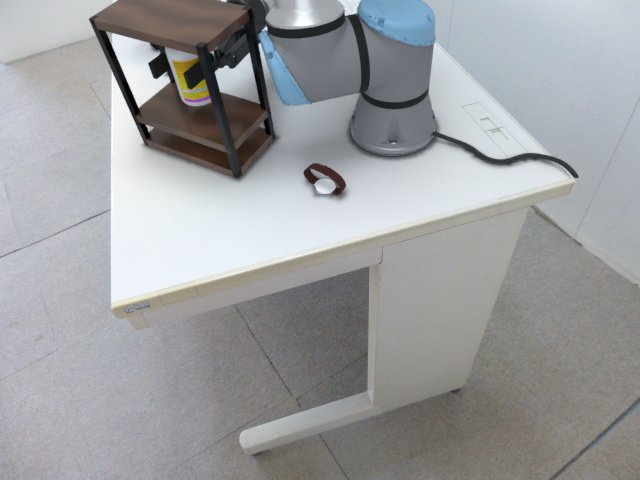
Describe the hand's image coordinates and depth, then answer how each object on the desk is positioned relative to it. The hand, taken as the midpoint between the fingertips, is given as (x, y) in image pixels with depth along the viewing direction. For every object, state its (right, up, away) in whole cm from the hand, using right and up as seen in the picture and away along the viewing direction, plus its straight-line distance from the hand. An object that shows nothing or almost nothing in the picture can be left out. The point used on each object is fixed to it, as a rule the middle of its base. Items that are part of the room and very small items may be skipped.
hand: (169, 76), depth 80 cm
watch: (+26, -15, +3) cm, 30 cm away
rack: (+3, -8, +14) cm, 16 cm away
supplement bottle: (+3, -1, +8) cm, 9 cm away
